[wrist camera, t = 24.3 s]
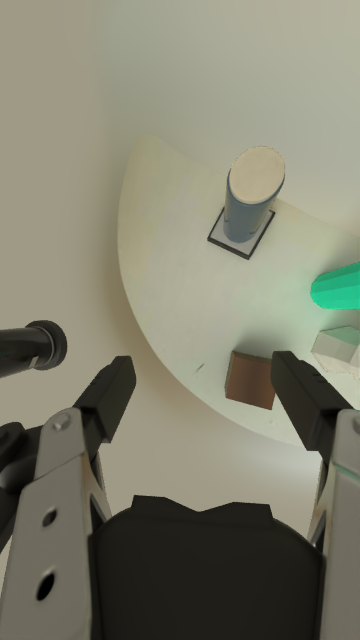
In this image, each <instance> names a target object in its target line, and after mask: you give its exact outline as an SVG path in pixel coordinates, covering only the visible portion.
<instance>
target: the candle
mask: <svg viewBox="0 0 360 640" xmlns="http://www.w3.org/2000/svg"><path fill="white" fill-rule="evenodd" d="M310 294H311V296H312V298H313V301H314V303H316V304H317V305H319V306H320V307H322V308H327V309H360V262H357V263H354V264H351V265H348V266H346V267H343V268H340V269H337V270H334V271H331V272H328V273H326V274H323V275H321V276H319V277H318V278H317V279H316V280H315V281H314V282H313V284H312V288H311V293H310Z"/></svg>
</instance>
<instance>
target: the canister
mask: <svg viewBox="0 0 360 640" xmlns="http://www.w3.org/2000/svg"><path fill="white" fill-rule="evenodd" d="M284 178H285V164H284V161H283V158H282V157H281V155H280V154H279V153H278V152H277V151H276V150H274V149H273V148H270V147H266V146H258V147H253V148H251V149H249V150H247V151H245V152H243V153H242V154H241V155H240V156H239V157H238V158H237V159H236V161H235V162H234V164H233V166H232V168H231V169H230V171H229V174H228V177H227V186H226V198H225V209H224V220H223V231H224V234H225V236H226V237H227V238H228V239H229V240H230V241H232V242H235V243H244V242H247V241H249V240H251V239H252V238H253V237H254V236H255V235H256V234H257V232H258V230H259V228H260V226H261V225H262V223H263V221H264V219H265V217H266V215H267V213H268V212H269V210H270V208H271V206H272V204H273V202H274V200H275V199H276V197H277V195H278V193H279V191H280V189H281V187H282V185H283V182H284Z"/></svg>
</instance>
